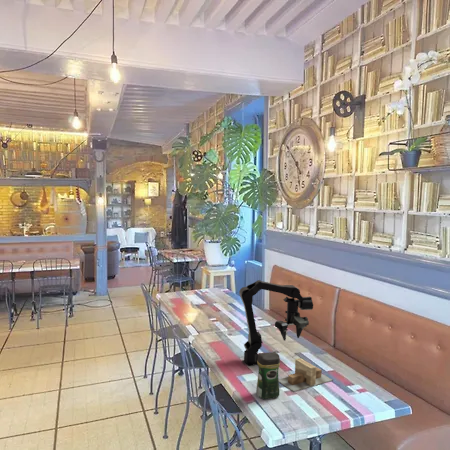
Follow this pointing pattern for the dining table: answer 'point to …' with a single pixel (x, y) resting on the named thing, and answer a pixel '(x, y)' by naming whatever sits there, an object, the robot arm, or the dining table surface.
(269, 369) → the coffee jar
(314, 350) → the dining table surface
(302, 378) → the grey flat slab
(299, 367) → the birch plate
